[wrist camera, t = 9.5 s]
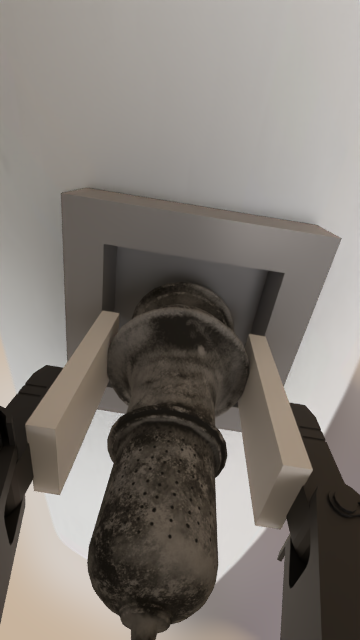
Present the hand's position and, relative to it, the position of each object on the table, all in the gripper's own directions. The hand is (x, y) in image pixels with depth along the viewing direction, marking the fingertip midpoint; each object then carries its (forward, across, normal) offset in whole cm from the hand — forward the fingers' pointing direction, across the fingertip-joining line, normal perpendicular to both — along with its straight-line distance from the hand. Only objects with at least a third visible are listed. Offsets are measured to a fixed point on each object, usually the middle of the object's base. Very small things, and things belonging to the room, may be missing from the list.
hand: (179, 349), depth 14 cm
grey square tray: (+4, 0, 0) cm, 4 cm away
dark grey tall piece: (+2, 0, 0) cm, 2 cm away
